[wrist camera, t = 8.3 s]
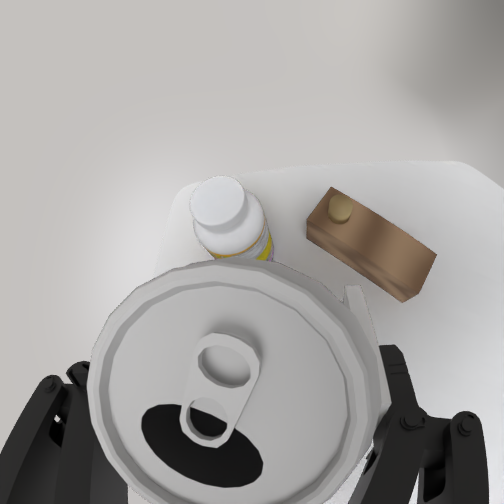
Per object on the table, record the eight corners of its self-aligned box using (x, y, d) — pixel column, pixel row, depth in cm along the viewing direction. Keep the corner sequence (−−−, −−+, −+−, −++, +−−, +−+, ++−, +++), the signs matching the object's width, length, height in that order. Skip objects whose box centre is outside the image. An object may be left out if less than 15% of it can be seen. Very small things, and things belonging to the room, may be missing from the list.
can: (194, 402, 15) (46, 446, 4) (235, 296, 17) (129, 198, 6) (305, 444, 13) (307, 579, 2) (349, 333, 15) (449, 287, 4)
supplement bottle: (212, 244, 35) (168, 190, 23) (258, 219, 35) (234, 153, 23) (235, 289, 32) (194, 251, 20) (284, 262, 32) (272, 208, 20)
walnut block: (420, 268, 29) (444, 247, 22) (402, 302, 28) (426, 289, 21) (328, 208, 34) (332, 176, 27) (306, 238, 33) (306, 210, 26)
